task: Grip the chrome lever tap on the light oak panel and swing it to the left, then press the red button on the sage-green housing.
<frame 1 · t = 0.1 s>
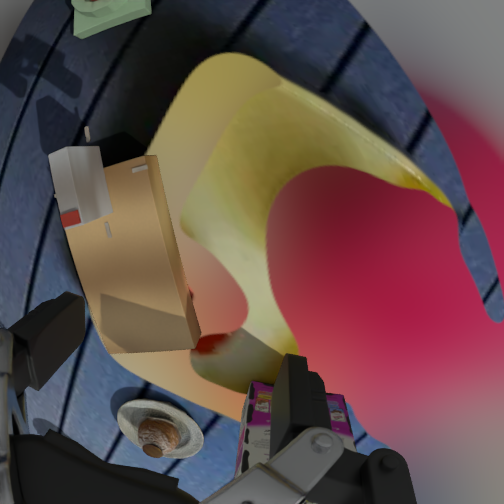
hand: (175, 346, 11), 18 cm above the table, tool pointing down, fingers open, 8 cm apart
candy bar box: (293, 401, 34), on the table
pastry: (161, 425, 37), on the table
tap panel: (132, 258, 30), on the table
tap lever: (80, 185, 23), point 6 cm above the table, hinge at 0.0°
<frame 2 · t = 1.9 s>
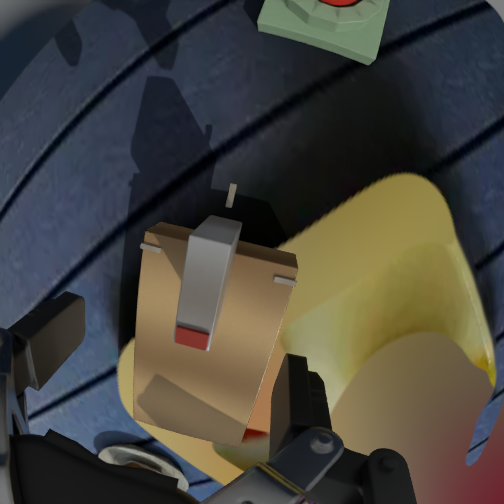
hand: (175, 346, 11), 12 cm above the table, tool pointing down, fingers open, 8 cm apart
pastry: (144, 467, 33), on the table
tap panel: (205, 342, 26), on the table
button box: (327, 3, 17), on the table
tap lever: (208, 280, 18), point 6 cm above the table, hinge at 0.0°
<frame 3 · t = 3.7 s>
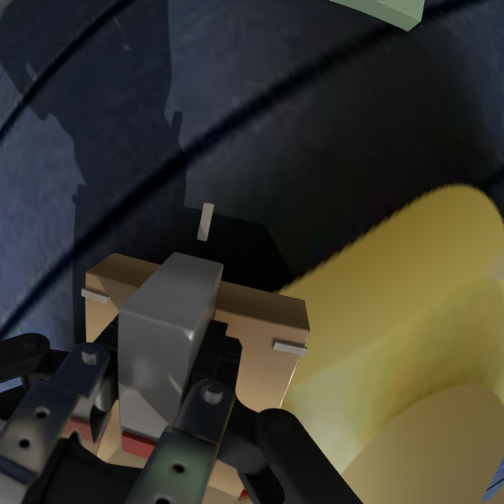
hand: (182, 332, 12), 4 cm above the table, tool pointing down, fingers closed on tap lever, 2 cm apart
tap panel: (183, 404, 18), on the table
tap lever: (169, 359, 11), point 6 cm above the table, hinge at 0.0°, touching gripper
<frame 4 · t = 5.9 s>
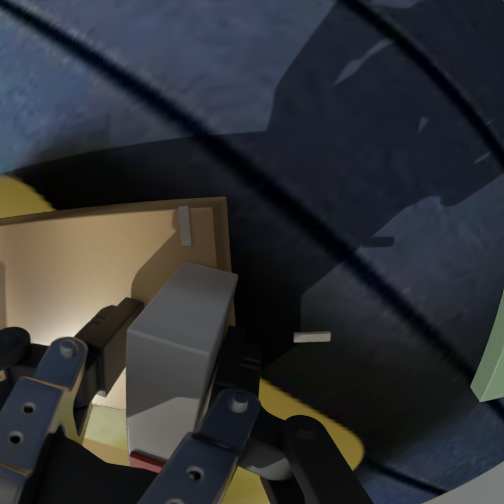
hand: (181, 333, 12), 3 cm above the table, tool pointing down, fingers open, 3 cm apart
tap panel: (76, 298, 16), on the table
tap lever: (180, 376, 10), point 6 cm above the table, hinge at 74.1°
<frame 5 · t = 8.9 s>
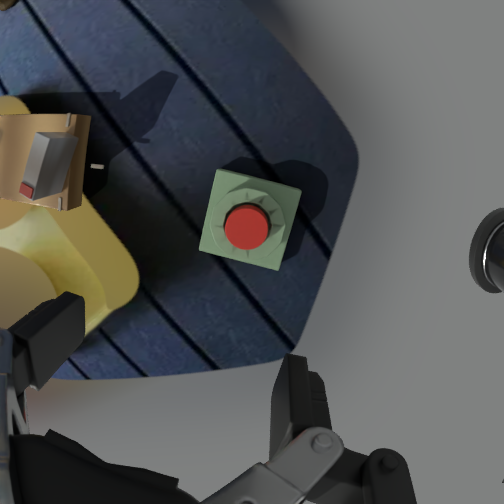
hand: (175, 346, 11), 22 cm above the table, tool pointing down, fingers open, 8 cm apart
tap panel: (28, 155, 31), on the table
button: (246, 227, 28), point 4 cm above the table, slide at 0.1 cm
button box: (249, 217, 32), on the table
tap lever: (48, 164, 25), point 6 cm above the table, hinge at 74.1°
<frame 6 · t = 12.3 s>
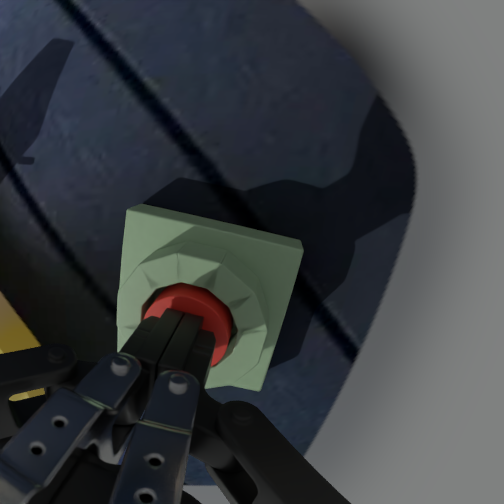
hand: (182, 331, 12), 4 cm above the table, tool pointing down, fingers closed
button: (189, 325, 13), point 3 cm above the table, slide at -0.8 cm, touching gripper
button box: (203, 295, 16), on the table
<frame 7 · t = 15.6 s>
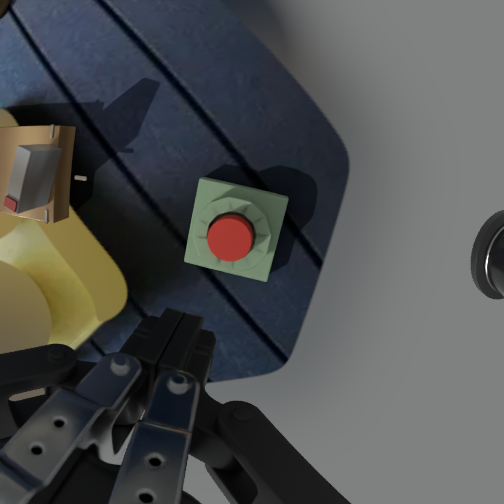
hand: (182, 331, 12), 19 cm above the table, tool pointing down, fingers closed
kendama: (1, 8, 23), on the table
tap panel: (17, 167, 30), on the table
button: (230, 237, 27), point 4 cm above the table, slide at 0.1 cm
button box: (236, 227, 31), on the table
tap lever: (32, 177, 25), point 6 cm above the table, hinge at 74.1°
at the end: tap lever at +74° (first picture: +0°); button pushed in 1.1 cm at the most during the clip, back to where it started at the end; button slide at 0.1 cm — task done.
